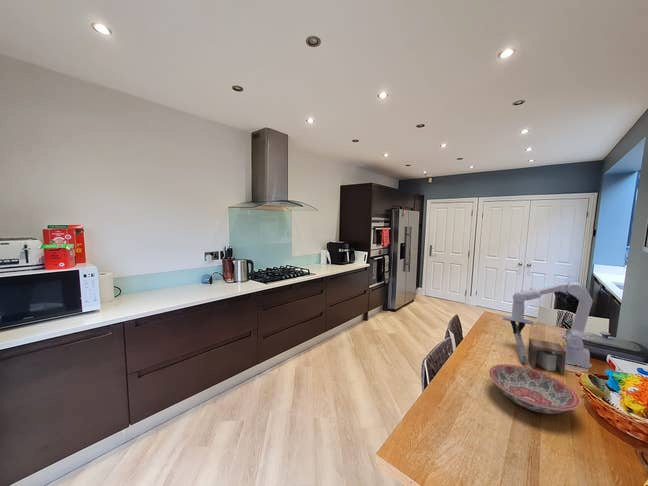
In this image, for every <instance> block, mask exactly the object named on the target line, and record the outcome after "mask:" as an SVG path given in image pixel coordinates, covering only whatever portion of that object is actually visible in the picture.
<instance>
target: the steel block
mask: <svg viewBox="0 0 648 486" xmlns="http://www.w3.org/2000/svg"><path fill="white" fill-rule="evenodd" d="M513 335H514V339H515V343H516V347H517V352H518V354H519V356H518V357H519V359H520V363H521V365H525V366H526V364H527V363H526V362H527V359H528V354H527V352H526V349H525V345H524V340H523V338H522V334H521V333H520V330H519V326H518V324H517V323H516V329H515V334H514V333H513Z"/></svg>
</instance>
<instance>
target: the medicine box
mask: <svg viewBox="0 0 648 486" xmlns="http://www.w3.org/2000/svg"><path fill="white" fill-rule="evenodd" d="M556 357H557V355H556V354H555V353H553V352H548V351H543V350H538V349H537V352H536V365H538V366H540V367H541V368H543V369H544V370H546V372H547V371H549V372H555V371H556V370H557V368H556Z"/></svg>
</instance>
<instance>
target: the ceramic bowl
mask: <svg viewBox="0 0 648 486" xmlns="http://www.w3.org/2000/svg"><path fill="white" fill-rule="evenodd" d="M488 374H489V377H490V379H491V381H492V382H493V383H494V384H495V385H496V386H497V387H498V388H499V390H500V391H501V393H503V394H504V396H506V397H507V398H508V399H510V400H511V401H512V402H513V403H515V404H517V405H520V406H521V407H522V408H525V409H528V410H530V411H533V412H537V413H541V414H549V415H550V414H551V415H553V414H561V413H564V412H566V411H573V410H575V409H578V407H579V406H580V404H581V400H580V398H579V395H578V394H577V393H576V391H575V390H573V389H572V388H571V387H569V386H568V385H567V384H565V383H564V382H563V381H561V380H559V379H558V378H556V377H553V376H552V375H549V374H546V373H544V372H542V371H539V370H538V369H537V370H536V369H534V368H532V367H526V366H521V365H517V364H507V363H506V364H505V363H502V364H496V365H494V366H493V365H492V367H490V369H489V371H488Z"/></svg>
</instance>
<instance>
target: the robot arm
mask: <svg viewBox="0 0 648 486" xmlns="http://www.w3.org/2000/svg"><path fill="white" fill-rule="evenodd" d="M558 292H561V293H563V294H567V292H568V293H569V294H570V295H572V296H573V297H575V298H576V299H577V301H578V305H577V308H576V312H575V314H574V318H573V322H572V324H571V325H572V326H571V328H570V330H569V331H568V332H567V333H566V335H565V338H566V342H564V348H563V349H564V350H565V351H566V358H565V364H566V363H567V364H566V365H570V364H571V365H570V366H575V365H577V367H580V366H581V367H582V368H584V369H585V368H586V369H590V358H591V354H590V353H591V352H590V351H589V349H588V348H585V347H584V342H583V338H584V333H585V328H586V326H587V325H586V324H587V321H588V319H589V315H590V312H591V308H592V305H593V302H594V300H593V298H592V296H591V294H590V293H589V292H588V290H587V289H586V286H584V285H583V284H582V283H581V282H579V281H577V280H572V281H569V282H568V281H564V282H560V283H556V284H553V285H549V286H547V287H546V286H545V287H542V288H536V287H534V288H533V287H529V289H526V290H520V291H515V292H514V293H513V295H512V299H513V301H512V308H511V316H503V315H502V320H503V321H508V322H509V323H510V324H511V327H512V332H513V335H514V334H515V329H516V324H517V323H518V324H517V325H518V326H519V330H520V333H521V332H522V331H523V329H524V328H525V327H526V324H527V325H531V326H533V325H534V320H530V319H525V308H526V307H525V302H526V301H532V300H536V299H540V298H541V296H543V295H548V294H552V293H558ZM581 367H580V368H581Z"/></svg>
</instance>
